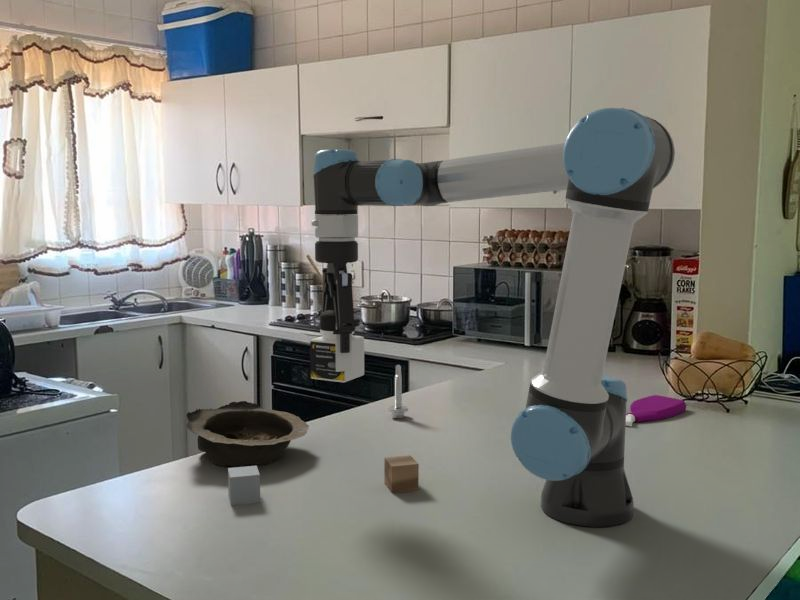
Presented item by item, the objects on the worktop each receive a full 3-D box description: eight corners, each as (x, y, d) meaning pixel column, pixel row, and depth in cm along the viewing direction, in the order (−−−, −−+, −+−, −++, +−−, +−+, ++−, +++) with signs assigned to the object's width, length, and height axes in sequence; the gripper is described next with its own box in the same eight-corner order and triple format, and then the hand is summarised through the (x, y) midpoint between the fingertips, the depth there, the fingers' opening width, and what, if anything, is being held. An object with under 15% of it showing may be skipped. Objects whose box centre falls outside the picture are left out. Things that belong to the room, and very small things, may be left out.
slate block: (260, 502, 136) (259, 474, 135) (230, 505, 134) (230, 477, 134) (257, 492, 140) (256, 465, 140) (228, 495, 139) (227, 468, 138)
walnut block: (418, 490, 141) (418, 463, 141) (391, 493, 140) (391, 466, 139) (410, 481, 146) (410, 455, 146) (384, 483, 145) (384, 457, 144)
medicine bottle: (309, 379, 139) (308, 311, 137) (331, 371, 145) (331, 307, 144) (344, 383, 136) (343, 314, 134) (365, 375, 142) (364, 309, 140)
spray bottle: (690, 412, 196) (636, 433, 179) (650, 404, 204) (596, 423, 187) (690, 401, 195) (637, 420, 179) (651, 393, 203) (596, 411, 187)
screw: (408, 419, 187) (388, 419, 187) (407, 414, 192) (388, 414, 192) (408, 366, 186) (388, 366, 186) (407, 362, 191) (388, 362, 191)
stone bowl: (177, 444, 168) (179, 401, 167) (292, 440, 177) (294, 400, 176) (189, 480, 145) (191, 430, 144) (320, 474, 154) (323, 427, 153)
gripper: (304, 237, 147) (306, 354, 150) (327, 242, 126) (328, 379, 128) (344, 236, 149) (345, 352, 152) (372, 242, 128) (373, 376, 130)
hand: (337, 364), depth 140 cm, fingers closed on medicine bottle, 10 cm apart
